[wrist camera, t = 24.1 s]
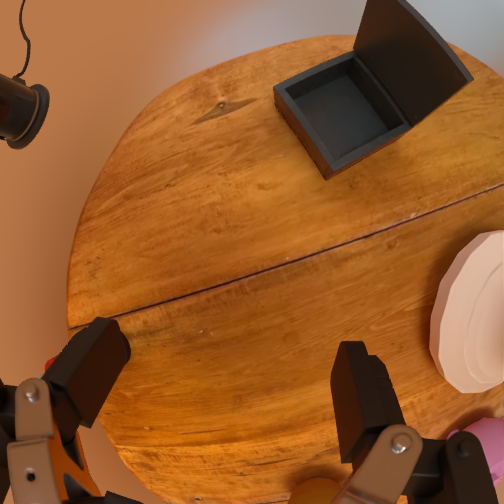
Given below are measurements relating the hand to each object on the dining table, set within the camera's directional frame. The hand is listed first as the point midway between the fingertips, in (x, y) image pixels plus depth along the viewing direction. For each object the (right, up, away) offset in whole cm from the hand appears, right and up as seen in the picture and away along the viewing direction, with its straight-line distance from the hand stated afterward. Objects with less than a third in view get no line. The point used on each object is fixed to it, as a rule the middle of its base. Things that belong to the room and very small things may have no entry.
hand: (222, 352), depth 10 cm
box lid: (+13, +19, +8) cm, 24 cm away
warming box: (+10, +18, +19) cm, 28 cm away
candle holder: (+30, -4, +18) cm, 36 cm away
